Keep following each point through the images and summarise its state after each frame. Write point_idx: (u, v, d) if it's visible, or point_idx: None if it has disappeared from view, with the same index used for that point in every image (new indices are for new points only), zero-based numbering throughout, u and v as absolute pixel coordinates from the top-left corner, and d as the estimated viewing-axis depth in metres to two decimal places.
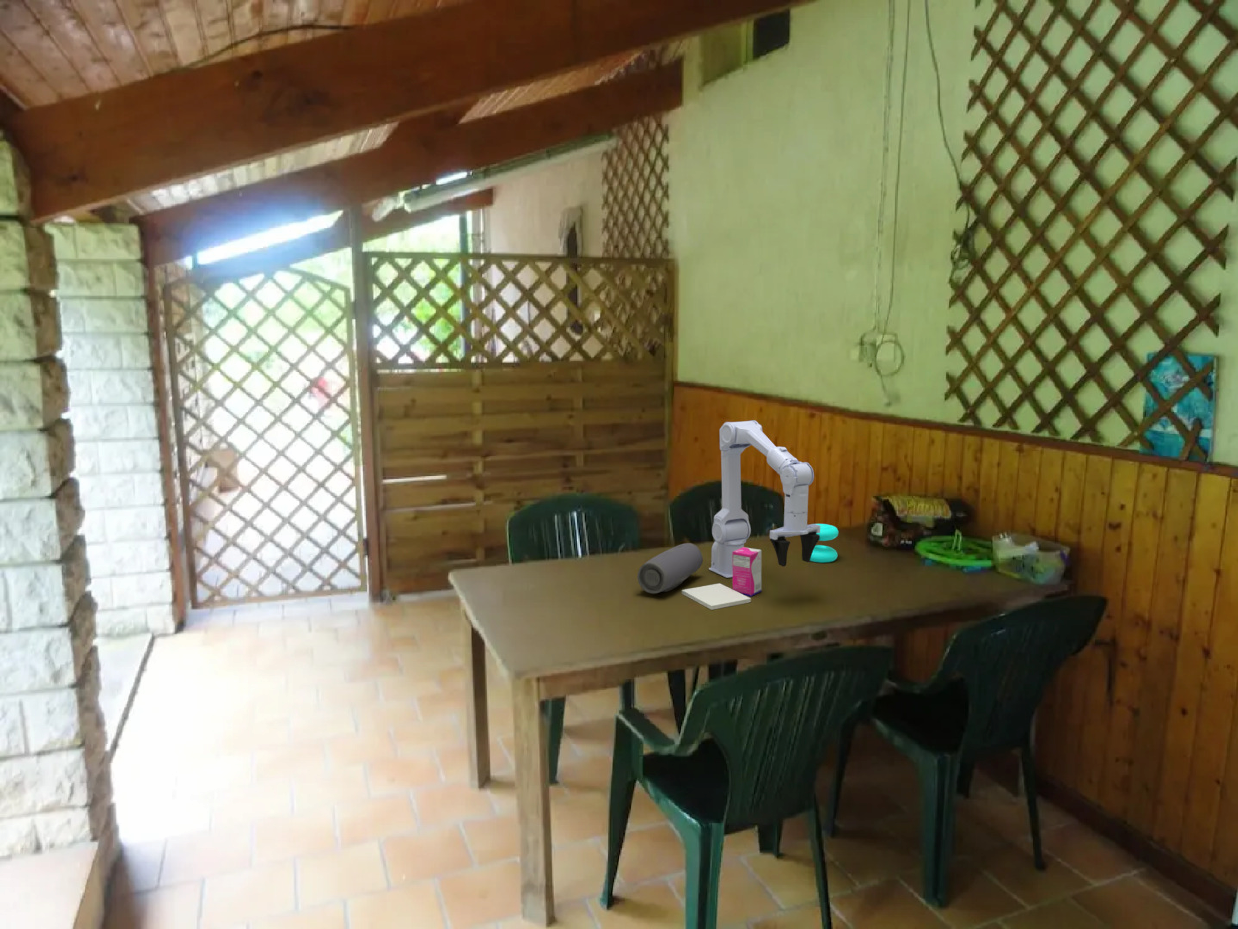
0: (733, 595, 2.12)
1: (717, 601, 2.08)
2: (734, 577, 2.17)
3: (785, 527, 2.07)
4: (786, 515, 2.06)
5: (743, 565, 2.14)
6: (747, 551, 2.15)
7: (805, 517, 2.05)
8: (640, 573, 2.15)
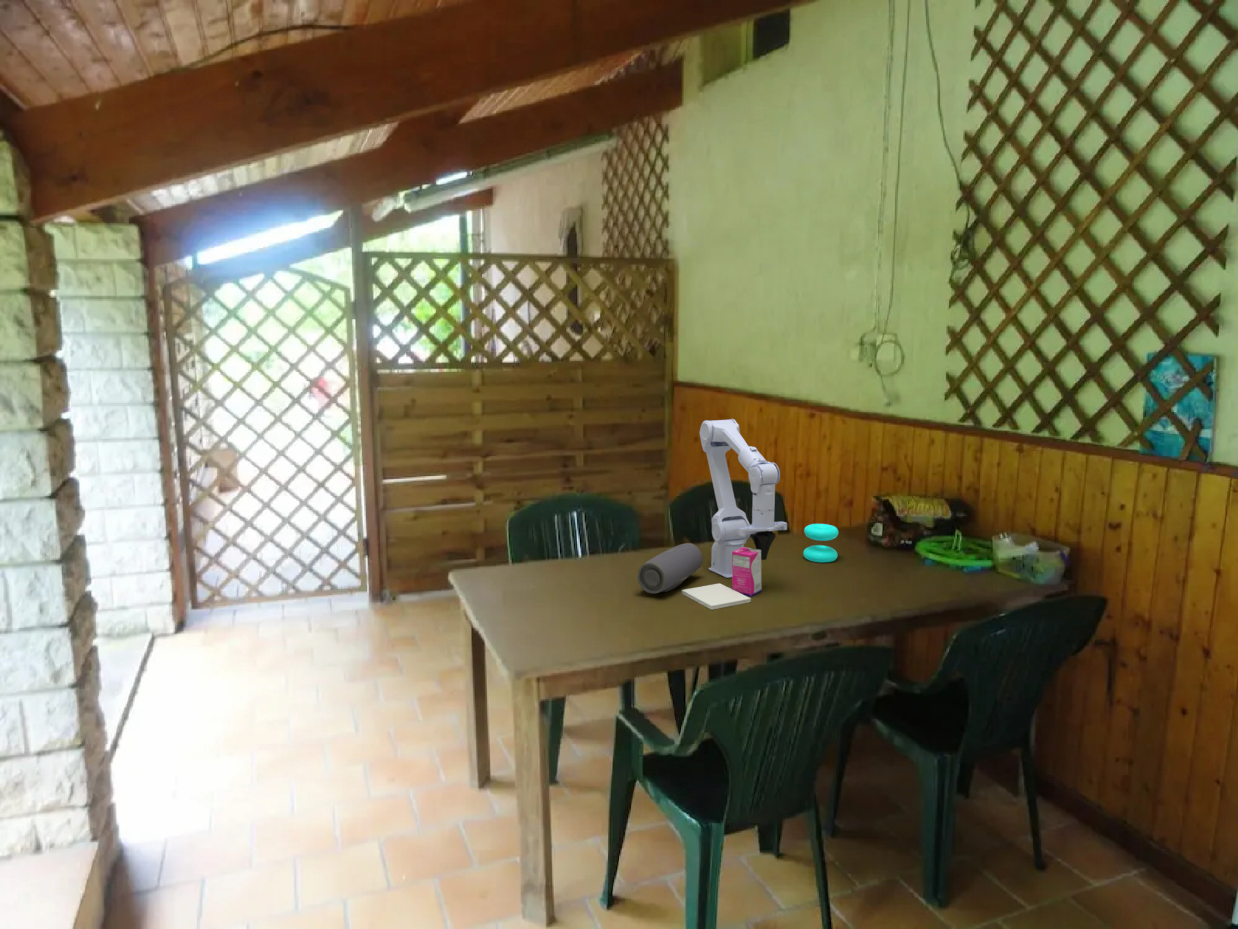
0: (733, 595, 2.12)
1: (717, 601, 2.08)
2: (734, 577, 2.17)
3: (753, 524, 2.16)
4: (754, 513, 2.15)
5: (743, 565, 2.14)
6: (747, 551, 2.15)
7: (772, 515, 2.15)
8: (640, 573, 2.15)
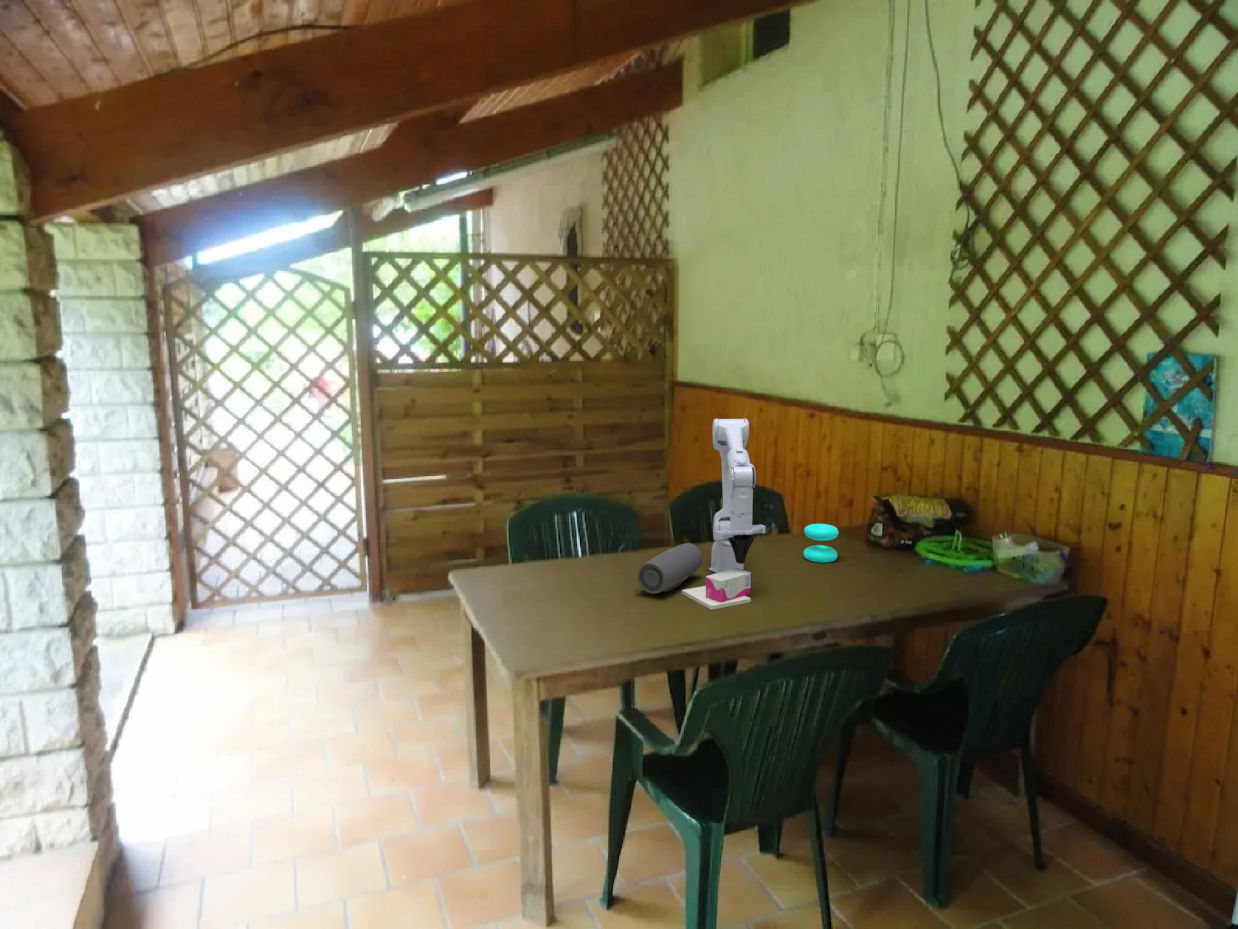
0: None
1: (717, 601, 2.08)
2: None
3: (731, 527, 2.13)
4: (731, 516, 2.12)
5: None
6: (715, 593, 2.08)
7: (750, 518, 2.12)
8: (640, 573, 2.15)
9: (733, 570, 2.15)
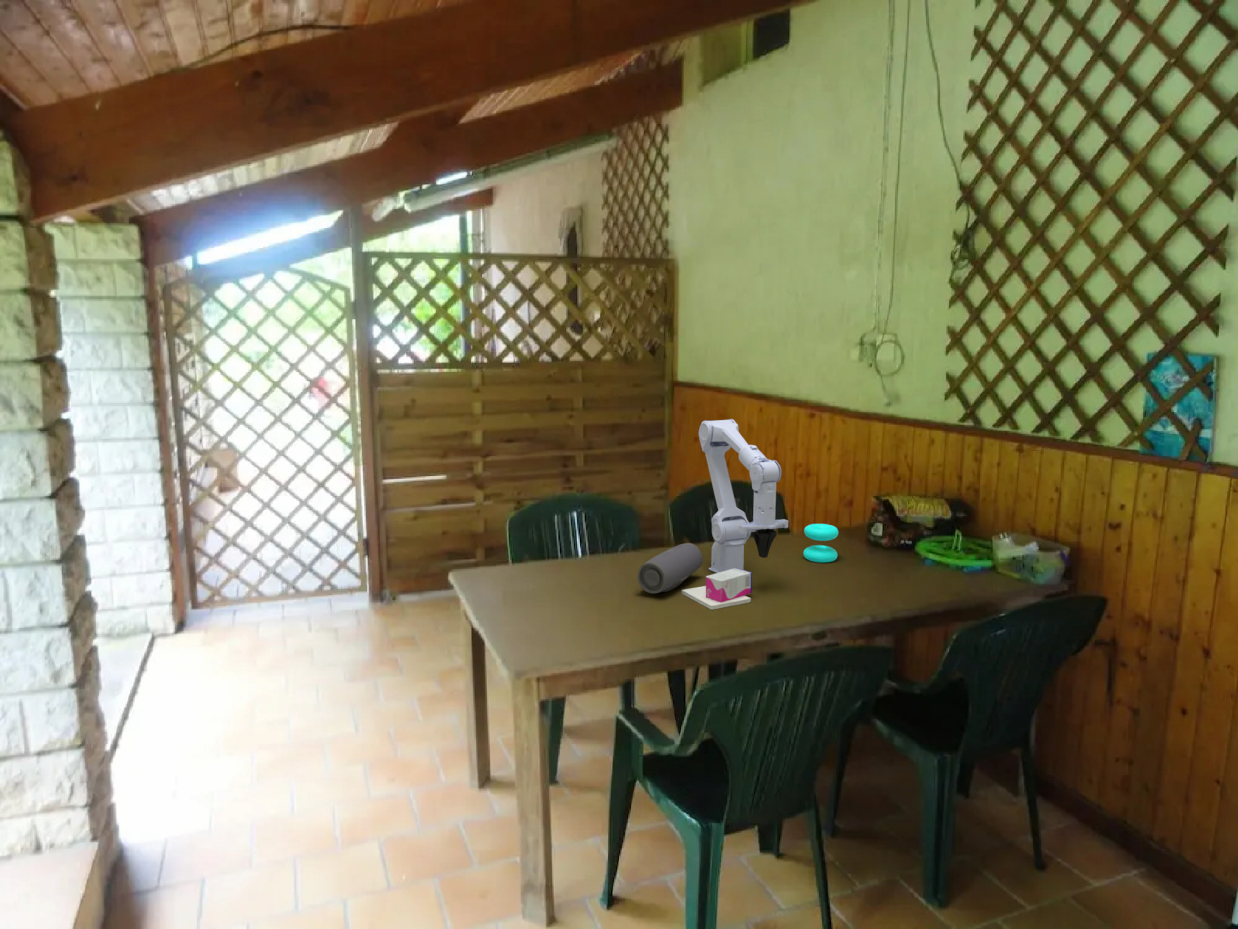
0: None
1: (717, 601, 2.08)
2: None
3: (754, 522, 2.16)
4: (755, 510, 2.16)
5: None
6: (715, 593, 2.08)
7: (773, 512, 2.15)
8: (640, 573, 2.15)
9: (733, 570, 2.15)
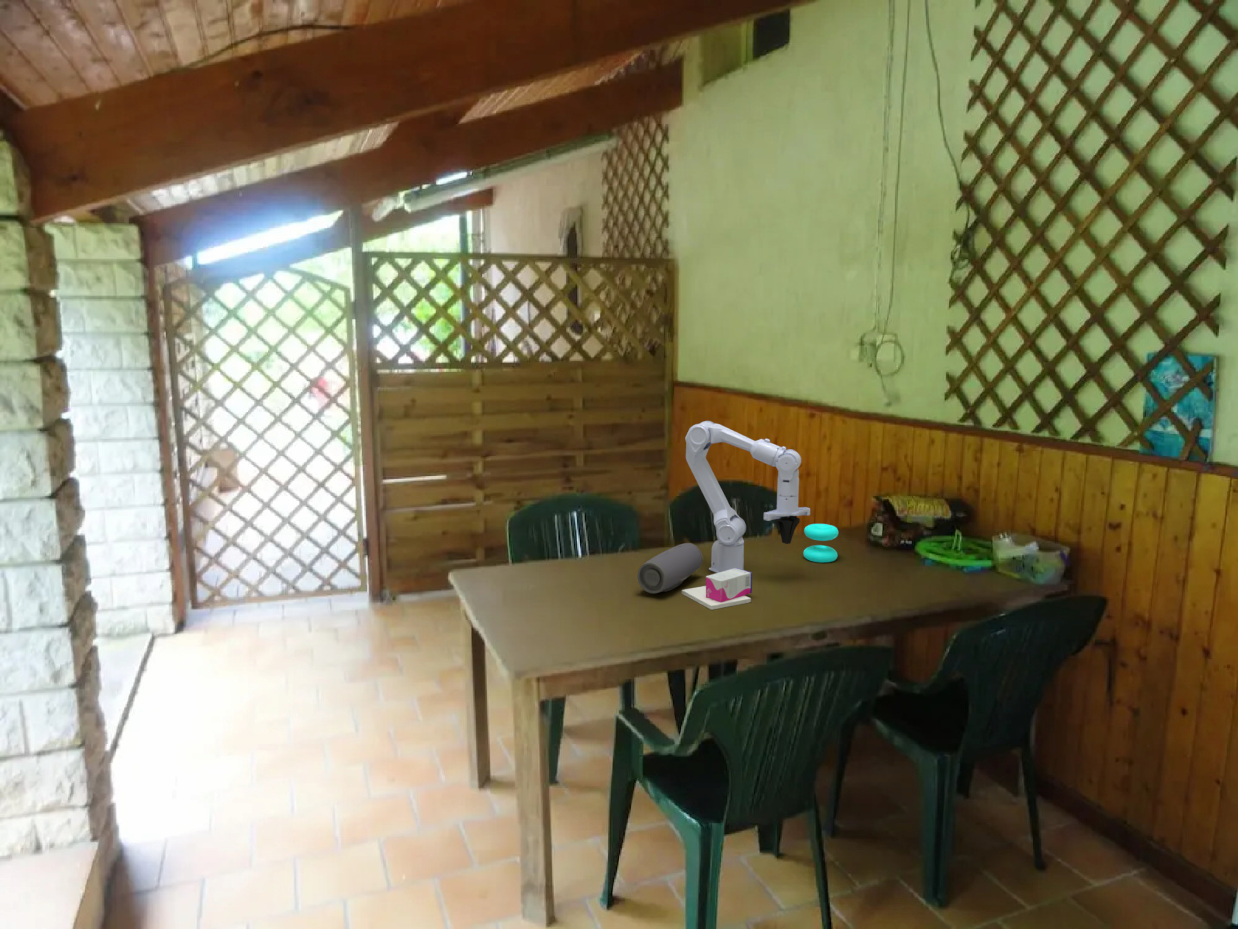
0: None
1: (717, 601, 2.08)
2: None
3: (778, 509, 2.25)
4: (779, 498, 2.24)
5: None
6: (715, 593, 2.08)
7: (796, 500, 2.23)
8: (640, 573, 2.15)
9: (733, 570, 2.15)
